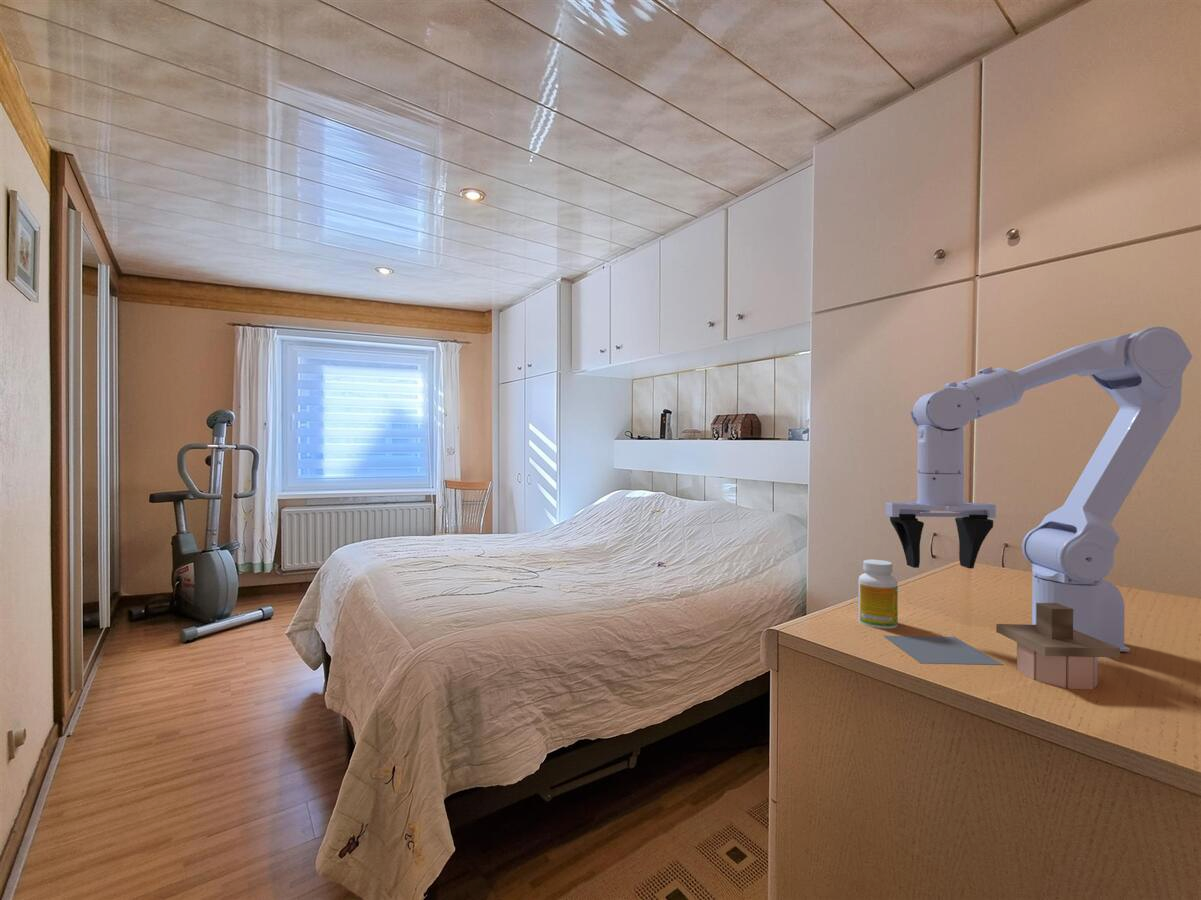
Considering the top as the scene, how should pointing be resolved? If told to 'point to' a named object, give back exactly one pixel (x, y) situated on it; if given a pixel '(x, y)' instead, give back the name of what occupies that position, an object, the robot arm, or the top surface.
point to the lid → (1056, 634)
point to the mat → (941, 650)
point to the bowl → (1058, 669)
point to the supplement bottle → (878, 595)
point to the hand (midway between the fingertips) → (939, 566)
